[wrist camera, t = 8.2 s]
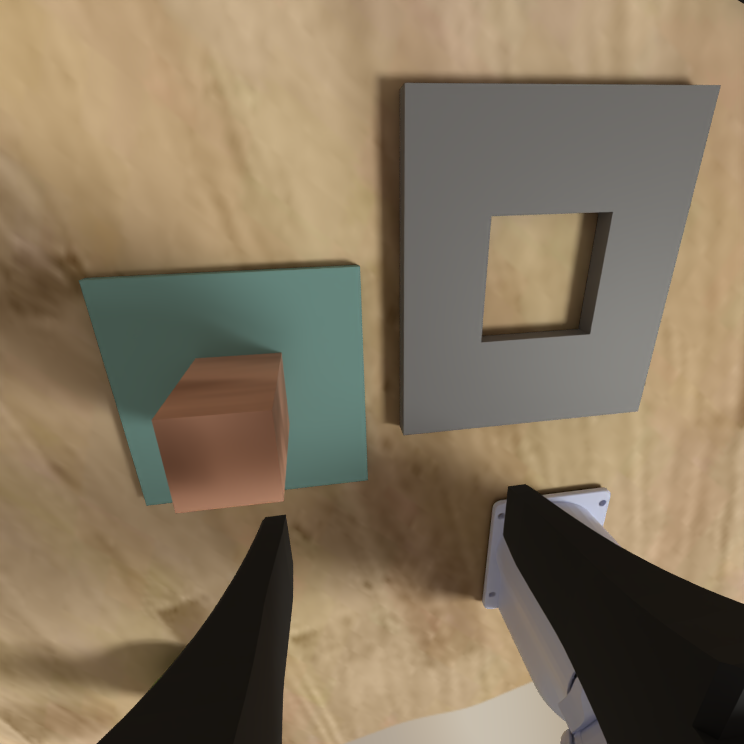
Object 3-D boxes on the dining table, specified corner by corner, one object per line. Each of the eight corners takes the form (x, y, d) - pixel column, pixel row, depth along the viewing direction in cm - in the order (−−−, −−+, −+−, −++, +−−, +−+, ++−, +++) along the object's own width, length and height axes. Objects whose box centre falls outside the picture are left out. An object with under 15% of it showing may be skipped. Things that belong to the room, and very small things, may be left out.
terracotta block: (289, 424, 21) (283, 501, 16) (209, 431, 21) (175, 513, 15) (281, 352, 20) (272, 409, 14) (195, 358, 19) (151, 420, 14)
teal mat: (366, 473, 24) (367, 480, 23) (150, 498, 23) (146, 505, 22) (358, 264, 19) (359, 266, 19) (85, 277, 18) (78, 280, 17)
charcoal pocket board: (625, 403, 25) (637, 411, 24) (399, 426, 23) (403, 435, 22) (700, 91, 19) (720, 85, 18) (399, 89, 17) (404, 82, 16)
